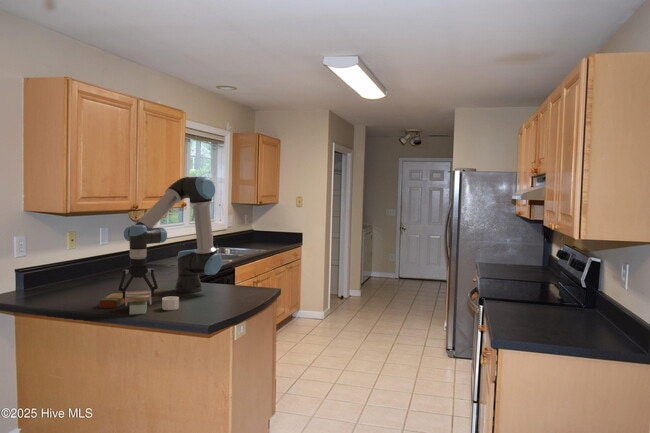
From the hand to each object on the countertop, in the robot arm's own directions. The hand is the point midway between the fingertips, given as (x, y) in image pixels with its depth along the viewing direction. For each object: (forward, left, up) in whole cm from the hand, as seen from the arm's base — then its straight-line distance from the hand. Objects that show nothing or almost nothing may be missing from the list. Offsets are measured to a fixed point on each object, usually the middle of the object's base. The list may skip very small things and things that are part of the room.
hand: (138, 304), depth 234 cm
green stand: (0, 0, -3) cm, 3 cm away
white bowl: (0, +14, -3) cm, 15 cm away
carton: (-16, -12, -3) cm, 21 cm away
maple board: (0, 0, +3) cm, 3 cm away
